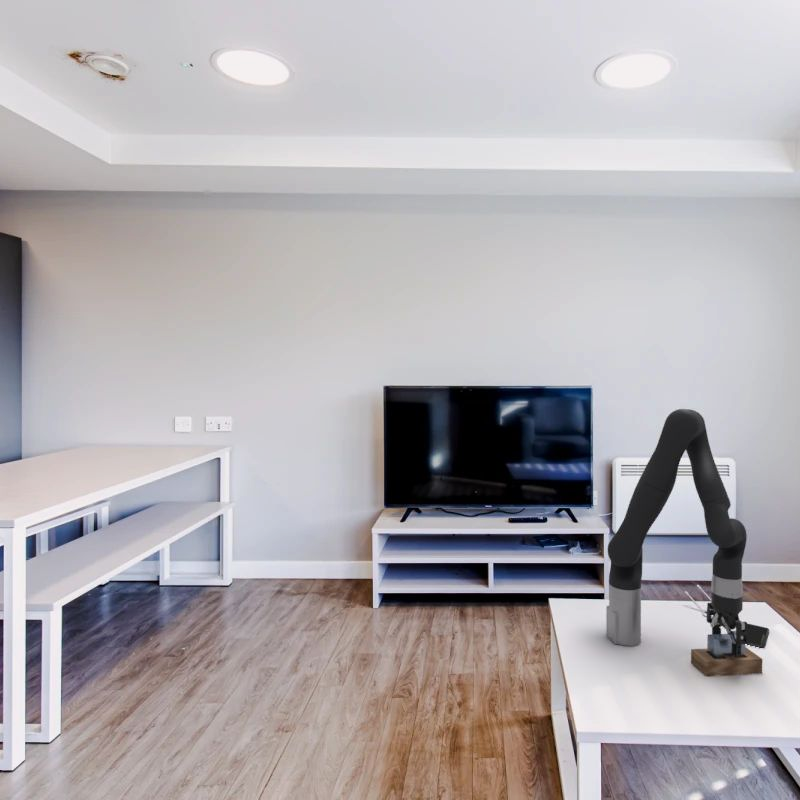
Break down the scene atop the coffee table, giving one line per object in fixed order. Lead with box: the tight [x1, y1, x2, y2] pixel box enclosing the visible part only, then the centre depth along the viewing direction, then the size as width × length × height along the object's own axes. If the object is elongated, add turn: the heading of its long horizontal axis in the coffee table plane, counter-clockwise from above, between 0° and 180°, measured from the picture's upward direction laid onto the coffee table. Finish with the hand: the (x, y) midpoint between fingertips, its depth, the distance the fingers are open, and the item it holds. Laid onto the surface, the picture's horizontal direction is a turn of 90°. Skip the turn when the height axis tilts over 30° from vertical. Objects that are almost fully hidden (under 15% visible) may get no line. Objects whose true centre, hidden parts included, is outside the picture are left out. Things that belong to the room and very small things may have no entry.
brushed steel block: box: [706, 633, 746, 659], centre depth 157 cm, size 9×3×8 cm, turn 93°
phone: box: [746, 622, 770, 649], centre depth 175 cm, size 8×1×15 cm
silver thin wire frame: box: [684, 584, 713, 618], centre depth 195 cm, size 16×14×6 cm
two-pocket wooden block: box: [690, 646, 763, 677], centre depth 157 cm, size 16×7×4 cm, turn 94°
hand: (726, 648), depth 157 cm, fingers open, 8 cm apart
